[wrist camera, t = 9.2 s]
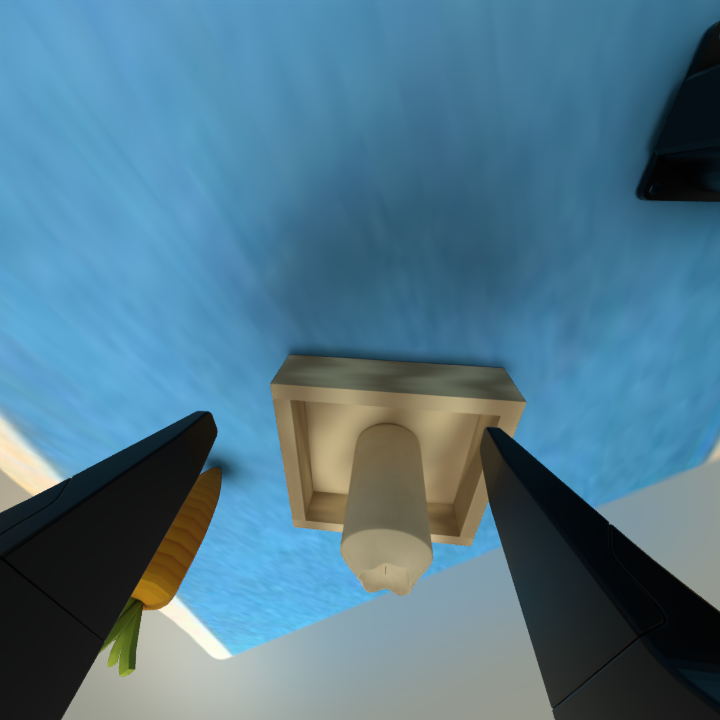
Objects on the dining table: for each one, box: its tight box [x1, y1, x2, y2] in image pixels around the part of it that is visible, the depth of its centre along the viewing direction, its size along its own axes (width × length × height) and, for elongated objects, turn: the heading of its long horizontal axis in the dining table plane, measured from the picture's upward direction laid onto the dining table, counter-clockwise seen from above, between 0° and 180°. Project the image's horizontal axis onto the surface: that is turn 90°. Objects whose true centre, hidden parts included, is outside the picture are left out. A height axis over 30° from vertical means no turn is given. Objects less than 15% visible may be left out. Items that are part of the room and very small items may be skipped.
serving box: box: [270, 355, 526, 546], centre depth 24 cm, size 16×16×4 cm
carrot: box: [99, 467, 222, 677], centre depth 23 cm, size 5×5×15 cm
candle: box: [340, 424, 433, 596], centre depth 20 cm, size 6×6×10 cm
